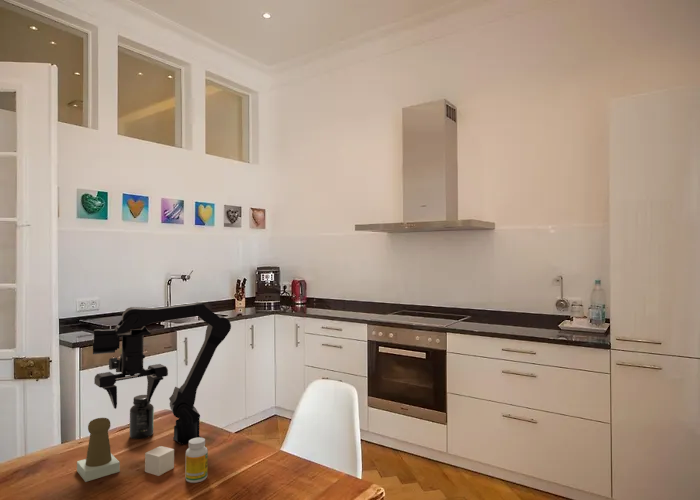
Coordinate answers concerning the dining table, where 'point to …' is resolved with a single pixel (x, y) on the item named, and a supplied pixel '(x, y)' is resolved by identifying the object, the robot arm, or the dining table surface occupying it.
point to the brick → (159, 460)
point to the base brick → (97, 469)
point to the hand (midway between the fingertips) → (132, 404)
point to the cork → (98, 443)
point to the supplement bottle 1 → (141, 418)
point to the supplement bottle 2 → (196, 461)
